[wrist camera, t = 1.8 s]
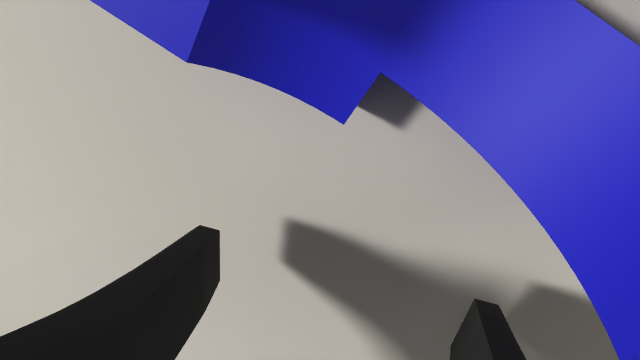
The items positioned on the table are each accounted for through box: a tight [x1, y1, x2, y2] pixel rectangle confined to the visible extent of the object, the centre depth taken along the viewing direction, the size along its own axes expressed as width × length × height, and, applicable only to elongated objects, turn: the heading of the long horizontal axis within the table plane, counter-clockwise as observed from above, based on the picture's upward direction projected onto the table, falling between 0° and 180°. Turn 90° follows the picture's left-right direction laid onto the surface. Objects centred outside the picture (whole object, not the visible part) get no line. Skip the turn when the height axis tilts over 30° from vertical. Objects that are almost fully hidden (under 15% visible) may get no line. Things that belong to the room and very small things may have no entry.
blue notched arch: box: [90, 0, 640, 360], centre depth 7 cm, size 12×4×6 cm, turn 60°
